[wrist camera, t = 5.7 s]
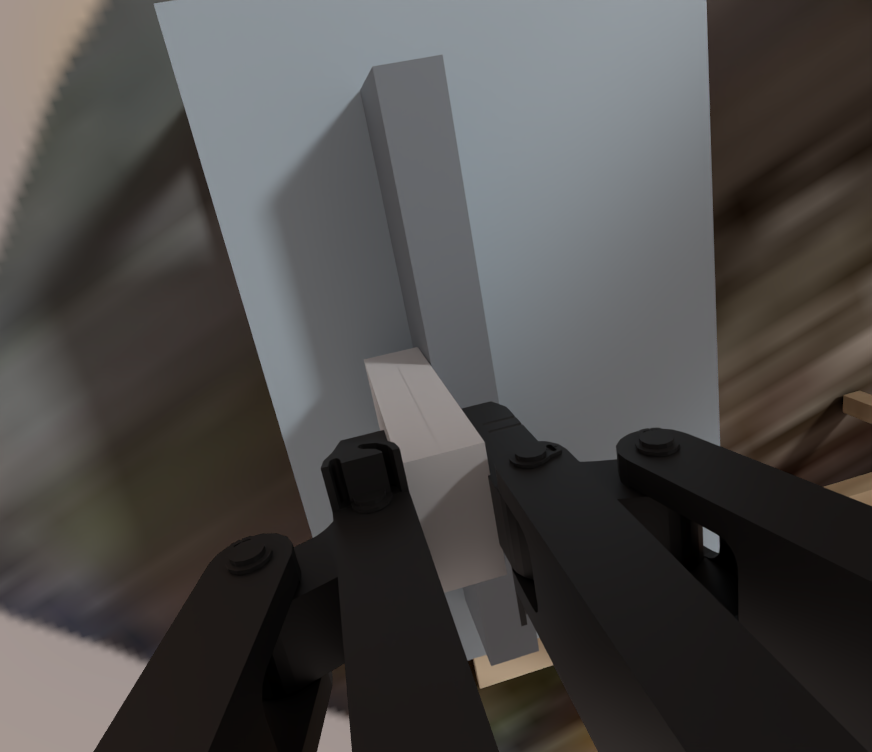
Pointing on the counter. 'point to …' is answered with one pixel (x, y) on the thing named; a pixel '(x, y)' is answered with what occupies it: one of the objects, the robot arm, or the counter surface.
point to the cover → (464, 218)
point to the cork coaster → (510, 667)
